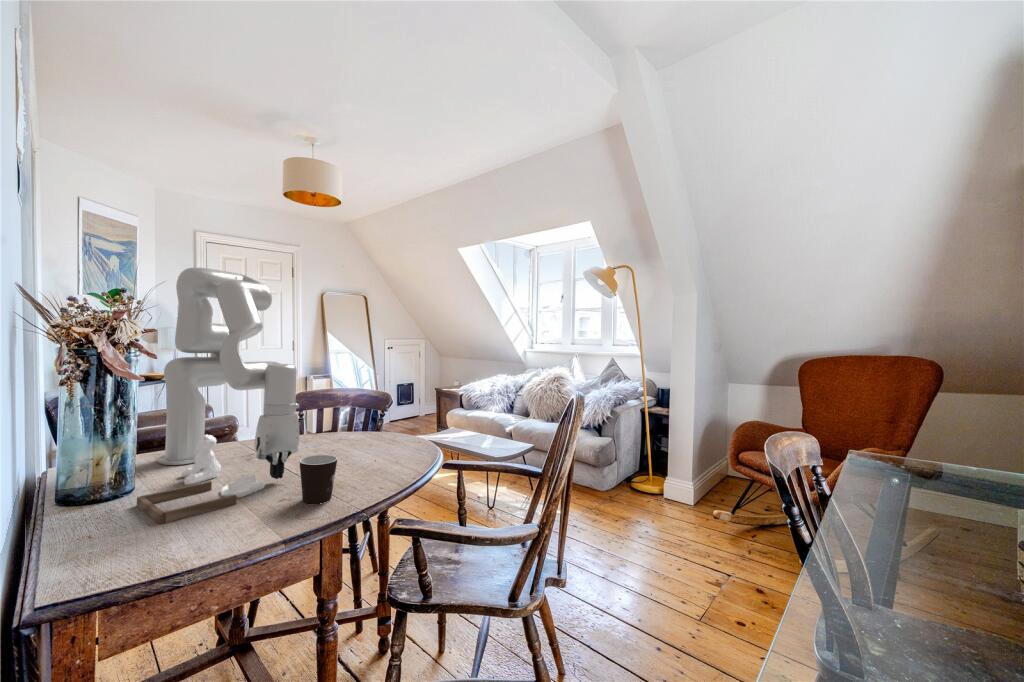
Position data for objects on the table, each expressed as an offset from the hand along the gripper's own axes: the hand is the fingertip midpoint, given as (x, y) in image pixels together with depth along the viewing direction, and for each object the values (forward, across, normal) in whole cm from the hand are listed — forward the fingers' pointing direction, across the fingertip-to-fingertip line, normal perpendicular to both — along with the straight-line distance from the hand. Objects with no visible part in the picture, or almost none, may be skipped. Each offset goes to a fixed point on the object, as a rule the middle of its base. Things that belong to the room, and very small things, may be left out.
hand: (276, 477), depth 116 cm
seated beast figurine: (+2, +11, -18) cm, 21 cm away
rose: (+2, +8, 0) cm, 9 cm away
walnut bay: (+2, +20, 0) cm, 20 cm away
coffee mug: (+2, -2, +18) cm, 18 cm away
